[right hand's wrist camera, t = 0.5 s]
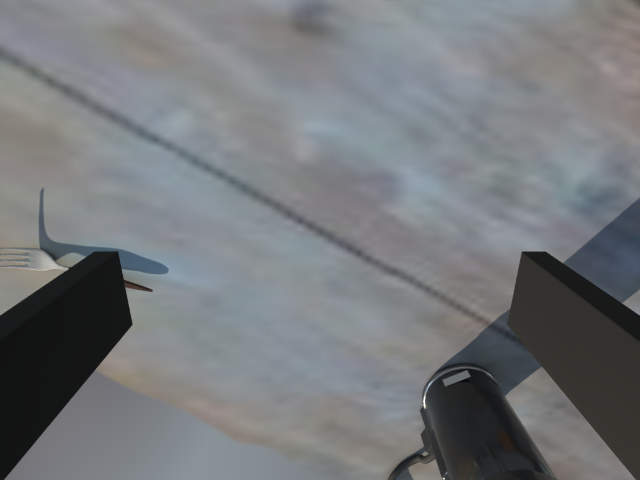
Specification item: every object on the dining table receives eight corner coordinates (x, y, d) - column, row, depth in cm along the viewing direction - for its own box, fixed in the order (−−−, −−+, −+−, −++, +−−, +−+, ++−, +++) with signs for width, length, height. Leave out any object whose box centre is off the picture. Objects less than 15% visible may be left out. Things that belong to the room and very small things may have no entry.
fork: (152, 298, 43) (145, 307, 41) (6, 261, 42) (-8, 268, 40) (156, 278, 42) (148, 286, 40) (7, 239, 41) (-8, 246, 39)
